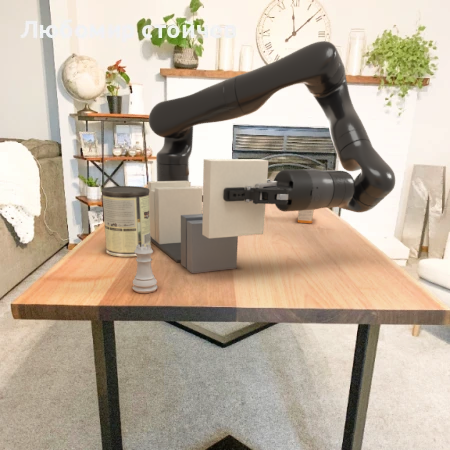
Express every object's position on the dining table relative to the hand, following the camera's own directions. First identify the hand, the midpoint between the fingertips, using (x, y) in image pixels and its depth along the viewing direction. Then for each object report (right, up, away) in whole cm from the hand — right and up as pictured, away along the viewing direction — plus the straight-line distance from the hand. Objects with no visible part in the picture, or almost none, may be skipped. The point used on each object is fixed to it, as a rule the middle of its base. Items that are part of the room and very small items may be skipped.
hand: (220, 193), depth 76 cm
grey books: (-3, -11, +17) cm, 20 cm away
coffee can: (-22, -7, +26) cm, 34 cm away
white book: (+2, -7, +4) cm, 8 cm away
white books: (-9, -5, +31) cm, 33 cm away
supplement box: (+27, +7, +67) cm, 72 cm away
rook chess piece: (-14, -17, +2) cm, 22 cm away
